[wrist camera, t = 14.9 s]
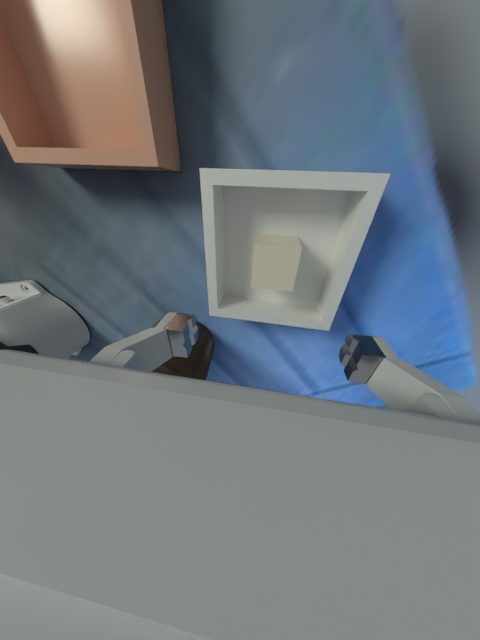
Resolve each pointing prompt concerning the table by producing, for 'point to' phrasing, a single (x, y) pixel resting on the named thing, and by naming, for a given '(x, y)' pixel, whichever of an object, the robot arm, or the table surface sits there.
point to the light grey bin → (285, 219)
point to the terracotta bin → (87, 85)
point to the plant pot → (191, 358)
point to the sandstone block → (275, 261)
